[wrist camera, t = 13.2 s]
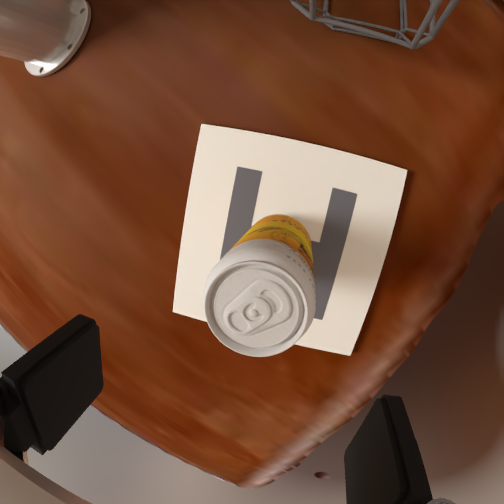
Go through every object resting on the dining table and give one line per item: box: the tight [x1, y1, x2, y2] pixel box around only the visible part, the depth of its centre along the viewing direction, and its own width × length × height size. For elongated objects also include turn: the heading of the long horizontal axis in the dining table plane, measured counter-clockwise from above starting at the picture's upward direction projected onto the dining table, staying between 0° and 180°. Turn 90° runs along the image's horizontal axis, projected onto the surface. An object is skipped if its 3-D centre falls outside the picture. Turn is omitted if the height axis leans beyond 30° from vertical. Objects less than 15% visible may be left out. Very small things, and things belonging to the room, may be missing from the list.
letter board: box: [173, 124, 407, 356], centre depth 30 cm, size 20×20×1 cm
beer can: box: [203, 214, 316, 357], centre depth 23 cm, size 6×6×15 cm
